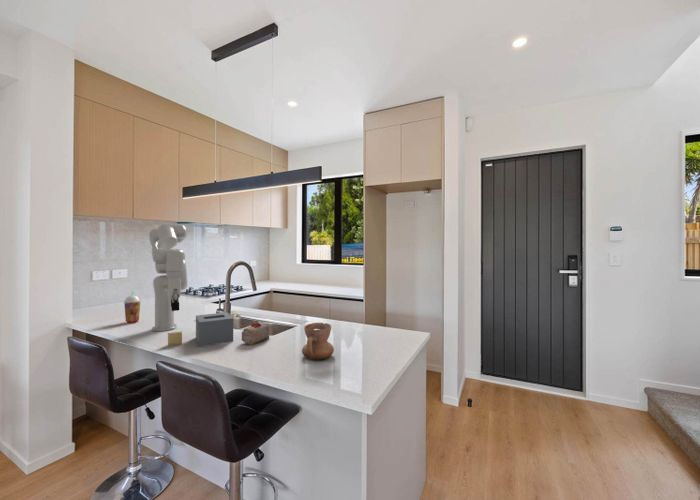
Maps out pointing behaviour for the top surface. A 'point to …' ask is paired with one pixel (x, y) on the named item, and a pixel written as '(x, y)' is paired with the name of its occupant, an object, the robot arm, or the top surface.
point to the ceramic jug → (317, 341)
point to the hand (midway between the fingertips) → (175, 308)
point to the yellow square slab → (174, 338)
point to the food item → (255, 333)
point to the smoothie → (132, 308)
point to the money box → (214, 328)
